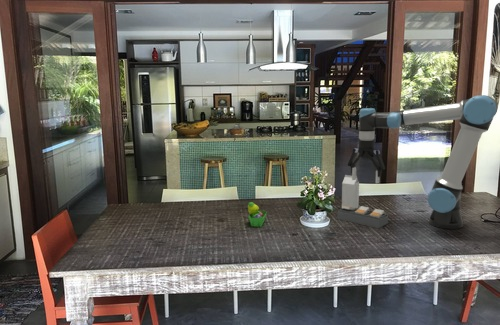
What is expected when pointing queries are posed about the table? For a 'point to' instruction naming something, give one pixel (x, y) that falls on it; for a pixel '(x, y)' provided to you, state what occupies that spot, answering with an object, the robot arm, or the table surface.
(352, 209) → the far rocker
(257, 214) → the chick basket toy
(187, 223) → the table surface
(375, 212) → the near rocker
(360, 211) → the middle rocker
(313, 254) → the table surface
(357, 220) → the switch panel
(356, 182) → the milk carton
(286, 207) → the table surface
